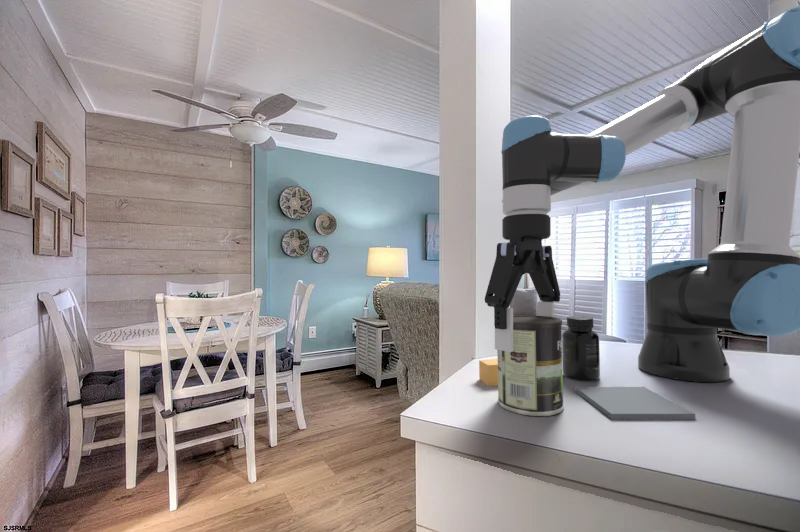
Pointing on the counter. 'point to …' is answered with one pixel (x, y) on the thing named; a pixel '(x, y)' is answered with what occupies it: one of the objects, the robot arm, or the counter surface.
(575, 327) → the supplement bottle
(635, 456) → the counter surface
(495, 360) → the orange cube
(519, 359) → the coffee can
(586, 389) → the slate mat
